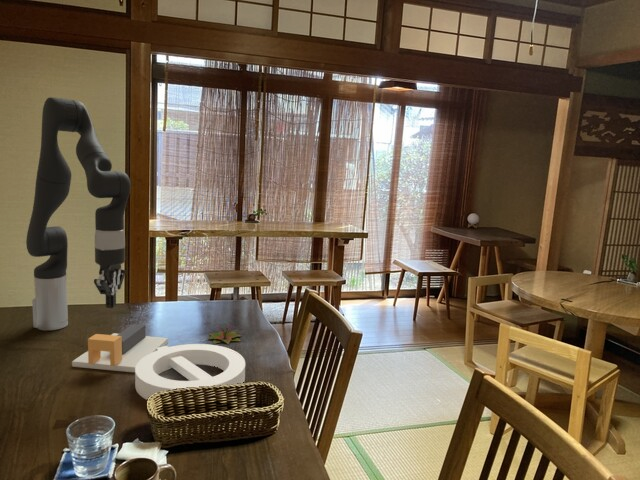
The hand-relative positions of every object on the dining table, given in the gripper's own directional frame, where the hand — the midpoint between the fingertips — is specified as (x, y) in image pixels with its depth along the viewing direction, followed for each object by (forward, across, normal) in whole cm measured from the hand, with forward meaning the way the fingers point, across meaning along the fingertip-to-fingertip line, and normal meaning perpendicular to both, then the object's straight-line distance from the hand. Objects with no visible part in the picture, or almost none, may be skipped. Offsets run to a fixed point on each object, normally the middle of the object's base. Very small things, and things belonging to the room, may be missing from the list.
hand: (110, 307), depth 135 cm
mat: (+16, -6, 0) cm, 18 cm away
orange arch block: (+14, +4, 0) cm, 15 cm away
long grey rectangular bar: (+15, -9, 0) cm, 18 cm away
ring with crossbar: (+16, +6, +25) cm, 31 cm away
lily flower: (+17, -25, +25) cm, 39 cm away
